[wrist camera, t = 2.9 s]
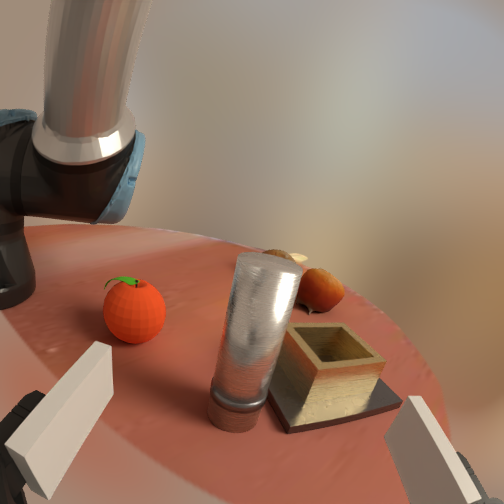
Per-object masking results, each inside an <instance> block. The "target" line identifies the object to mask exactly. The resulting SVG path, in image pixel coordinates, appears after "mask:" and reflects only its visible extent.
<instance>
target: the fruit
mask: <svg viewBox="0 0 504 504" xmlns="http://www.w3.org/2000/svg"><path fill="white" fill-rule="evenodd" d="M343 297H344V288H343V286H342V284H341V282H340V281H339V280H338V279H336V278H335V277H334V276H333V275H331V274H330V273H328V272H327V271H325V270H323V269H309V270H307V272H306V273H305V274H304V275H303V276H302V277H301V280H300V284H299V287H298V293H297V303H300V304H304V305H306V306H307V308H308V310H309V315H310V313H311V312H312V311H320V312H327V311H330V310H331V309H332V308H333V307H334V306H335V305H337V304H338V303H339V302H340V301H341V300H342V298H343ZM297 303H296V304H297Z"/></svg>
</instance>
